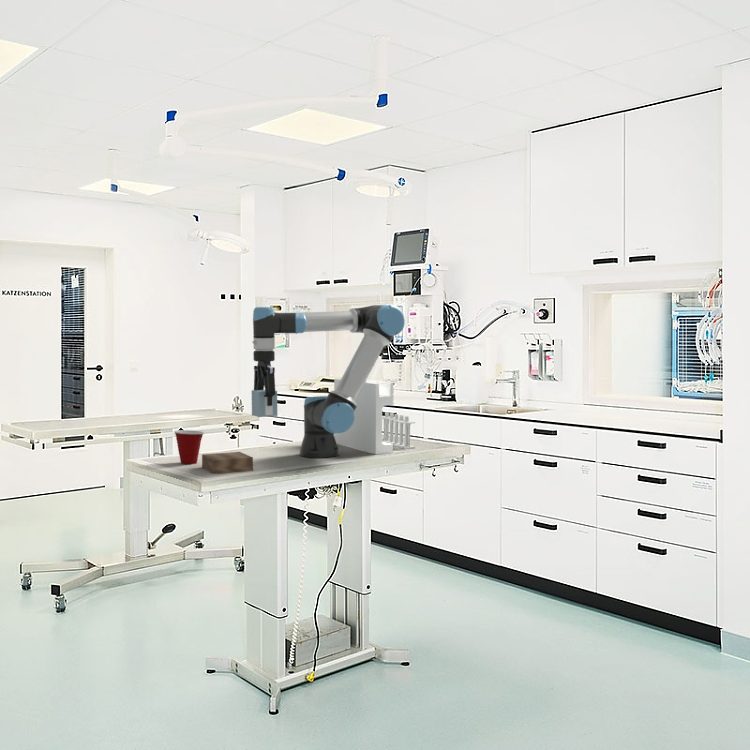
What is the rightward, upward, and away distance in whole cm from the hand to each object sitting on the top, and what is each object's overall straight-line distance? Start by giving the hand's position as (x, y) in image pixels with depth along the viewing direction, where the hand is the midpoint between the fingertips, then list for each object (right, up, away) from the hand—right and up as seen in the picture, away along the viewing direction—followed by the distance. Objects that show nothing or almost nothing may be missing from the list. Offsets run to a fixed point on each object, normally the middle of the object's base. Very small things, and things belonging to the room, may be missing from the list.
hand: (264, 413), depth 290 cm
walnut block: (-12, -20, -6) cm, 24 cm away
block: (+35, -17, +44) cm, 59 cm away
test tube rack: (+49, -16, +54) cm, 75 cm away
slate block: (0, -1, 0) cm, 1 cm away
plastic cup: (-28, -19, +6) cm, 34 cm away
